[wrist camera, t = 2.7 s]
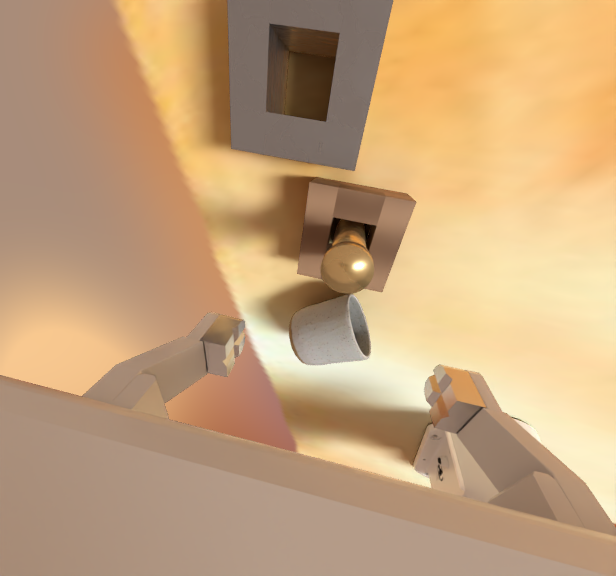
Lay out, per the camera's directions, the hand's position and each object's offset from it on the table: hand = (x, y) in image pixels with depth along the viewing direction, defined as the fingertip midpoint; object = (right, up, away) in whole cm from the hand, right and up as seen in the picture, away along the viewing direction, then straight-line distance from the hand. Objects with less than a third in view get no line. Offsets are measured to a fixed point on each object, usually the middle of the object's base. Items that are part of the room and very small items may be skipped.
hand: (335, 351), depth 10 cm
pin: (+3, +9, +15) cm, 18 cm away
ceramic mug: (+3, -2, +22) cm, 22 cm away
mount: (+3, +9, +15) cm, 18 cm away
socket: (-1, +19, +10) cm, 22 cm away
